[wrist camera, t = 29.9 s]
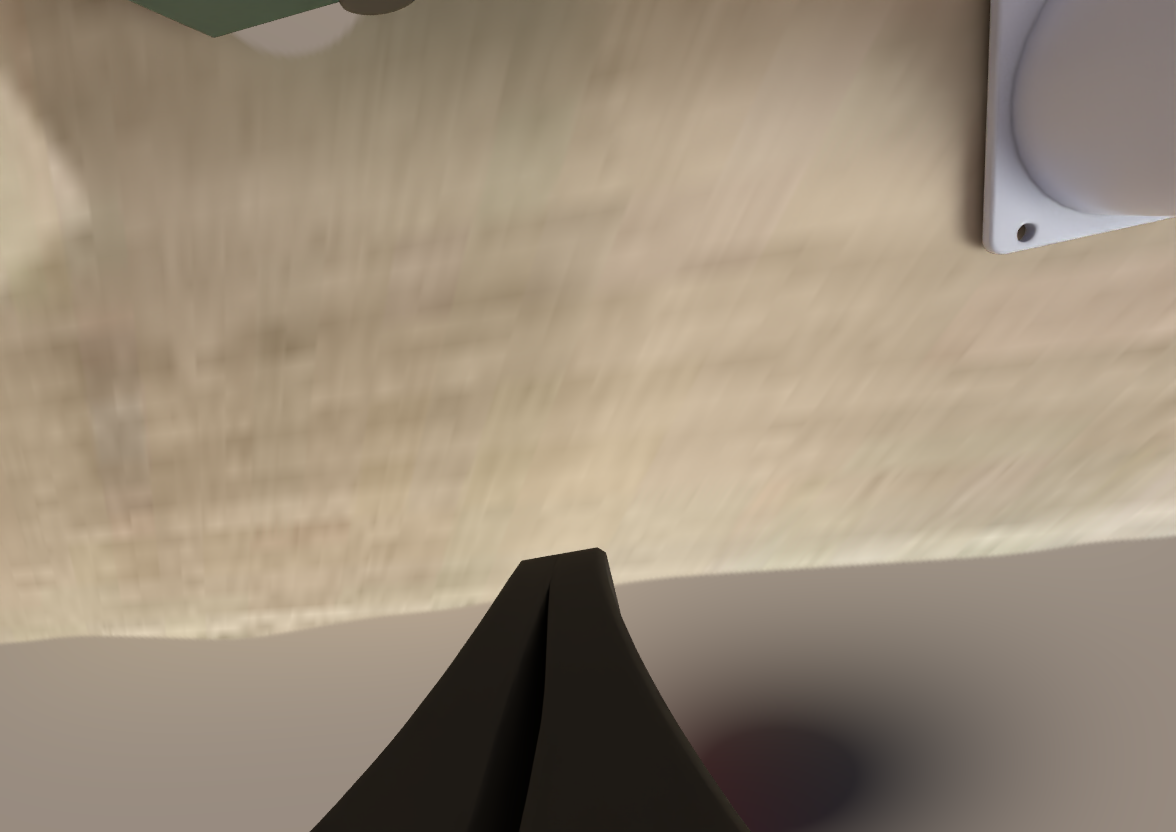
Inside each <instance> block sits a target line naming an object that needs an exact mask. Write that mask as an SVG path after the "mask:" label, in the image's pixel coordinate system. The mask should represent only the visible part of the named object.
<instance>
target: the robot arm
mask: <svg viewBox="0 0 1176 832" xmlns="http://www.w3.org/2000/svg"><path fill="white" fill-rule="evenodd" d="M1173 217H1176V0H991V7H990V36H989V65H988V94H987V122H986V151H985V180H984V209H983V237H982V240H983V246H984V247H985V249H986V250H987V251H988V252H991V253H994V254H1009V253H1013V252H1018V251H1022V250H1027V249H1031V248H1036V247H1041V246H1045V245H1050V244H1054V243H1059V242H1063V241H1068V240H1073V239H1077V238H1082V237H1086V236H1091V235H1095V234H1100V233H1105V232H1109V231H1114V230H1118V229H1123V228H1127V227H1132V226H1137V225H1141V224H1146V223H1150V222H1155V221H1159V220H1164V219H1169V218H1173ZM1022 225H1025V228H1026V231H1025V234H1024V236H1023V237H1022V238H1021V239H1020V240H1018V239H1017V232H1018V229H1019V228H1020V227H1021V226H1022ZM310 832H751V831H750V830H749V828H748V827H747V826H746V824H745V823H744V822H743V820H742V819H741V818H740V816H739V815H738V814H737V812H736V811H735V809H734V808H733V807H732V805H731V804H730V803H729V801H728V799H727V798H726V796H725V795H724V794H723V792H722V791H721V789H720V788H719V786H718V785H717V783H716V782H715V780H714V779H713V777H712V776H711V775H710V773H709V772H708V770H707V769H706V767H705V766H704V764H703V763H702V761H701V760H700V758H699V757H698V755H697V754H696V752H695V750H694V749H693V748H692V746H691V744H690V743H689V741H688V739H687V738H686V737H685V735H684V733H683V732H682V730H681V729H680V727H679V725H678V724H677V722H676V720H675V719H674V717H673V715H672V714H671V712H670V710H669V709H668V707H667V705H666V703H665V702H664V700H663V698H662V697H661V695H660V693H659V691H658V689H657V687H656V686H655V684H654V682H653V680H652V678H651V677H650V675H649V673H648V671H647V669H646V667H645V665H644V663H643V662H642V660H641V658H640V656H639V654H638V652H637V650H636V648H635V645H634V643H633V642H632V639H631V637H630V635H629V632H628V630H627V628H626V626H625V624H624V621H623V619H622V617H621V614H620V609H619V605H618V601H617V597H616V592H615V588H614V584H613V580H612V576H611V572H610V568H609V564H608V559H607V555H606V552H604V551H602V550H601V549H599V548H598V547H597V548H591V549H586V550H580V551H574V552H569V553H563V554H557V555H551V556H546V557H540V558H534V559H529V560H523V561H521V562H520V564H519V565H518V567H517V568H516V569H515V571H514V572H513V574H512V575H511V577H510V578H509V580H508V581H507V583H506V584H505V586H504V587H503V589H502V590H501V592H500V593H499V595H498V596H497V598H496V599H495V601H494V602H493V604H492V605H491V607H490V609H489V610H488V611H487V613H486V614H485V616H484V617H483V619H482V620H481V622H480V623H479V625H478V626H477V628H476V629H475V631H474V632H473V634H472V635H471V636H470V638H469V639H468V641H467V642H466V644H465V645H464V646H463V648H462V649H461V650H460V652H459V653H458V655H457V656H456V658H455V659H454V661H453V662H452V663H451V665H450V666H449V668H448V669H447V670H446V672H445V673H444V674H443V676H442V677H441V678H440V680H439V681H438V682H437V684H436V685H435V686H434V688H433V689H432V690H431V691H430V693H429V694H428V695H427V697H426V698H425V699H424V701H423V702H422V703H421V704H420V706H419V707H418V709H417V710H416V711H415V712H414V714H413V715H412V716H411V717H410V719H409V720H408V721H407V723H406V724H405V725H404V727H403V728H402V729H401V730H400V732H399V733H398V734H397V735H396V736H395V737H394V739H393V740H392V741H391V742H390V744H389V745H388V746H387V747H386V748H385V749H384V751H383V752H382V753H381V754H380V755H379V756H378V758H377V759H376V760H375V761H374V762H373V763H372V765H371V766H370V767H369V768H368V769H367V770H366V771H365V772H364V773H363V775H362V776H361V777H360V778H359V779H358V780H357V781H356V783H354V785H353V786H352V787H351V788H350V789H349V790H348V791H347V792H346V794H345V795H344V796H343V797H342V798H341V799H340V800H339V801H338V803H337V804H336V805H335V806H334V807H333V808H332V809H331V810H330V811H329V812H328V813H327V814H326V815H325V817H324V818H323V819H322V820H321V821H320V822H319V823H318V824H317V825H316V826H315V827H314V828H313V829H312V830H311V831H310Z"/></svg>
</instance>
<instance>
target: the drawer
mask: <svg viewBox="0 0 1176 832" xmlns="http://www.w3.org/2000/svg"><path fill="white" fill-rule="evenodd" d="M129 1H131V2H134V3H136V4H138V5H140V6H143V7H145V8H147V9H149V10H152V11H154V12H156V13H159V14H161V15H163V16H165V17H168V18H170V19H172V20H175V21H177V22H179V23H181V24H184V25H186V26H188V27H190V28H193V29H195V30H197V31H200V32H202V33H204V34H206V35H209V36H211V37H214V38H215V37H218V36H222V35H225V34H229V33H232V32H236V31H239V30H243V29H246V28H250V27H253V26H257V25H260V24H264V23H267V22H271V21H274V20H277V19H281V18H284V17H288V16H291V15H295V14H298V13H302V12H305V11H309V10H312V9H316V8H319V7H322V6H326V5H330V4H333V3H337V2H340V4H341V5H342V7H343V8H344V9H345V10H347V11H349V12H351V13H355V14H361V15H379V14H386V13H390V12H394V11H397V10H400V9H402V8H404V7H406V6H408V5H409V4H411V3H412V2H413V1H414V0H129Z"/></svg>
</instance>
